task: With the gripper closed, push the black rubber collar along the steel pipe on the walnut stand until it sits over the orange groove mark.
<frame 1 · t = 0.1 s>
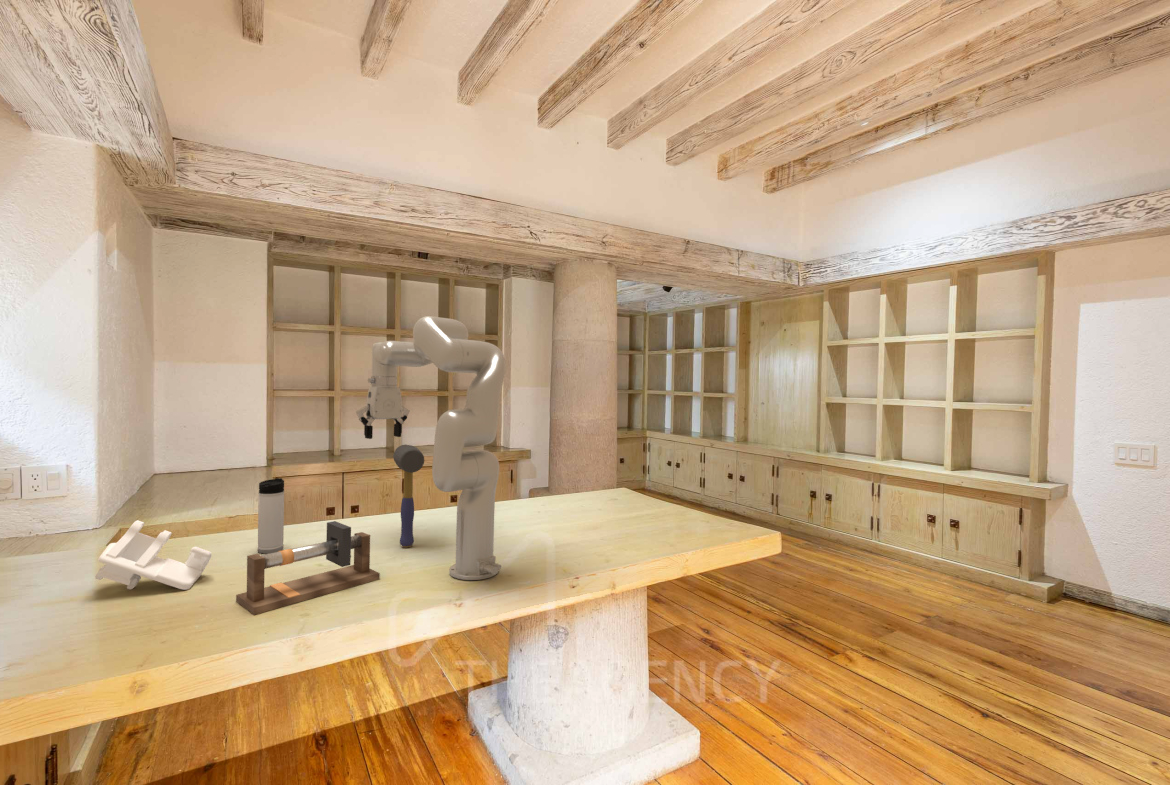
hand: (383, 437, 167), 31 cm above the table, tool pointing down, fingers open, 9 cm apart
rubber mallet: (406, 547, 159), on the table
white angular bracket piece: (156, 586, 125), on the table
travel mug: (270, 551, 152), on the table
collar: (338, 543, 130), point 9 cm above the table, slide at -6.0 cm
pipe stand: (312, 589, 125), on the table
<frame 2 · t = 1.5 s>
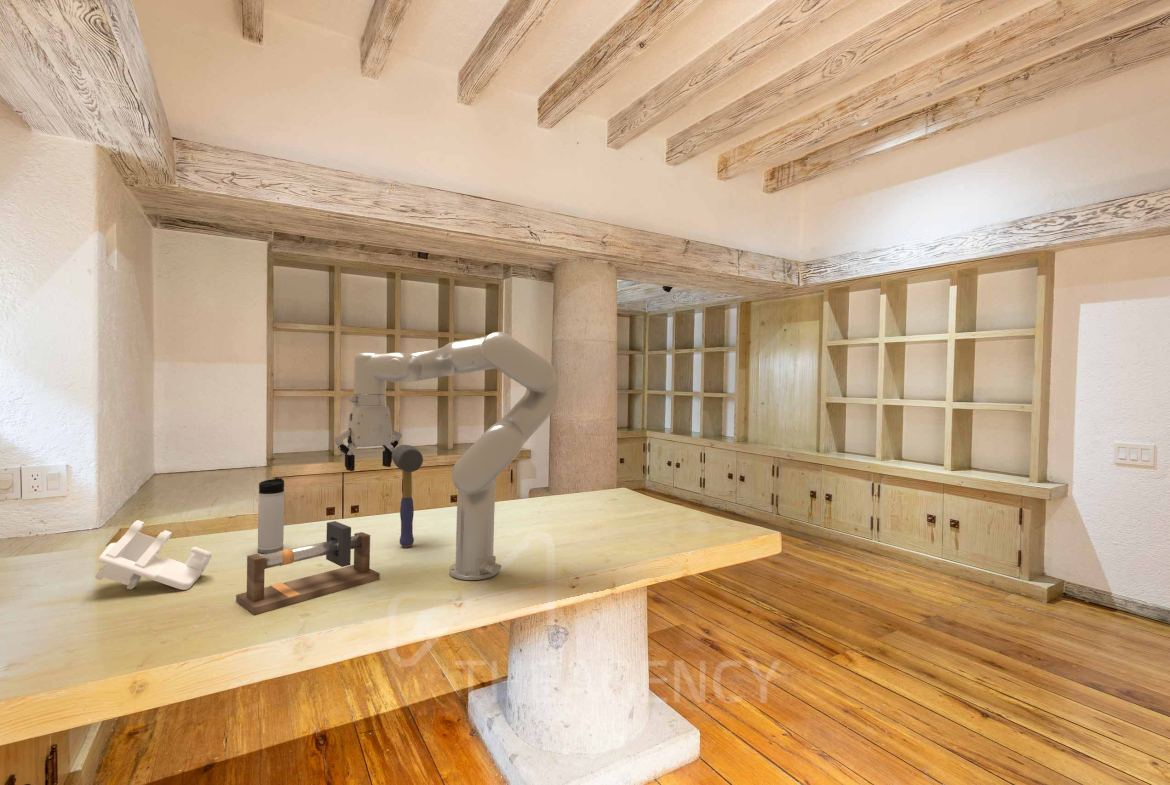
hand: (368, 468, 137), 27 cm above the table, tool pointing down, fingers open, 9 cm apart
nothing on the table moved.
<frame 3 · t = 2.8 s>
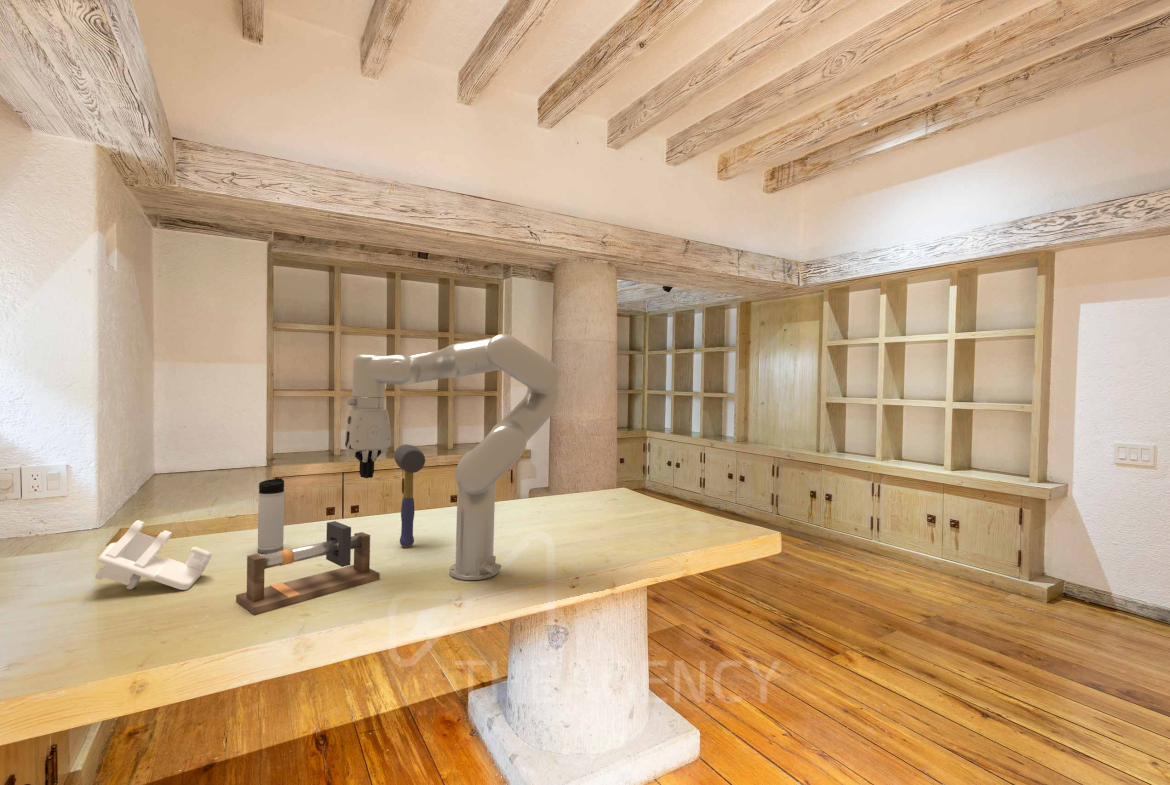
hand: (366, 477, 135), 25 cm above the table, tool pointing down, fingers closed
nothing on the table moved.
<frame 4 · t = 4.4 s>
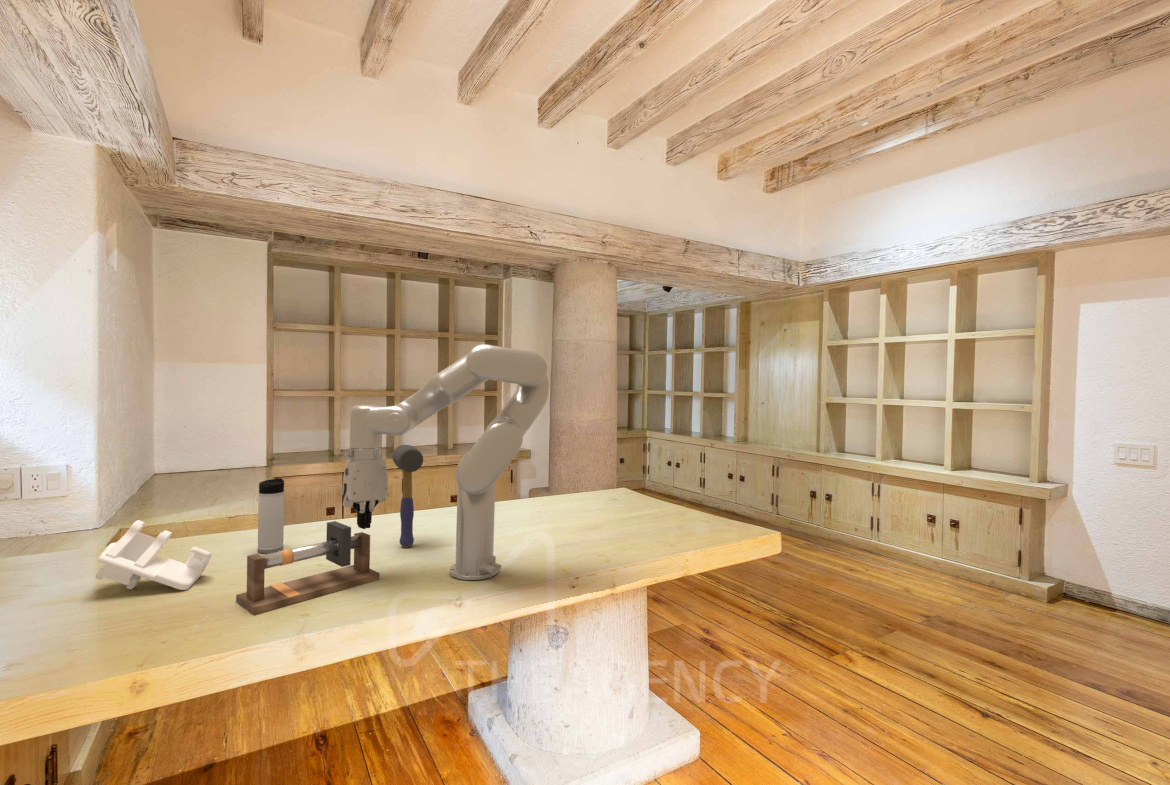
hand: (364, 527, 135), 12 cm above the table, tool pointing down, fingers closed
nothing on the table moved.
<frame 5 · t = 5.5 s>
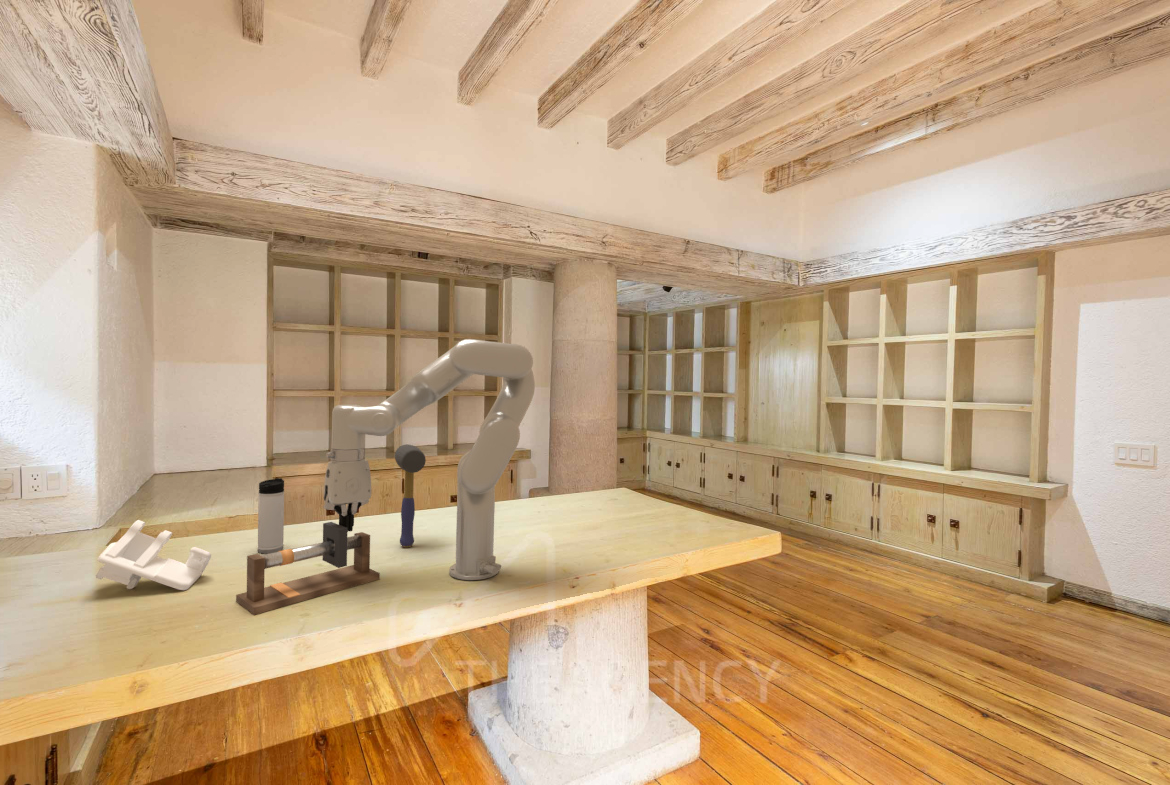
hand: (346, 530, 131), 12 cm above the table, tool pointing down, fingers closed
collar: (334, 544, 129), point 9 cm above the table, slide at -5.1 cm, touching gripper
everything else where it was.
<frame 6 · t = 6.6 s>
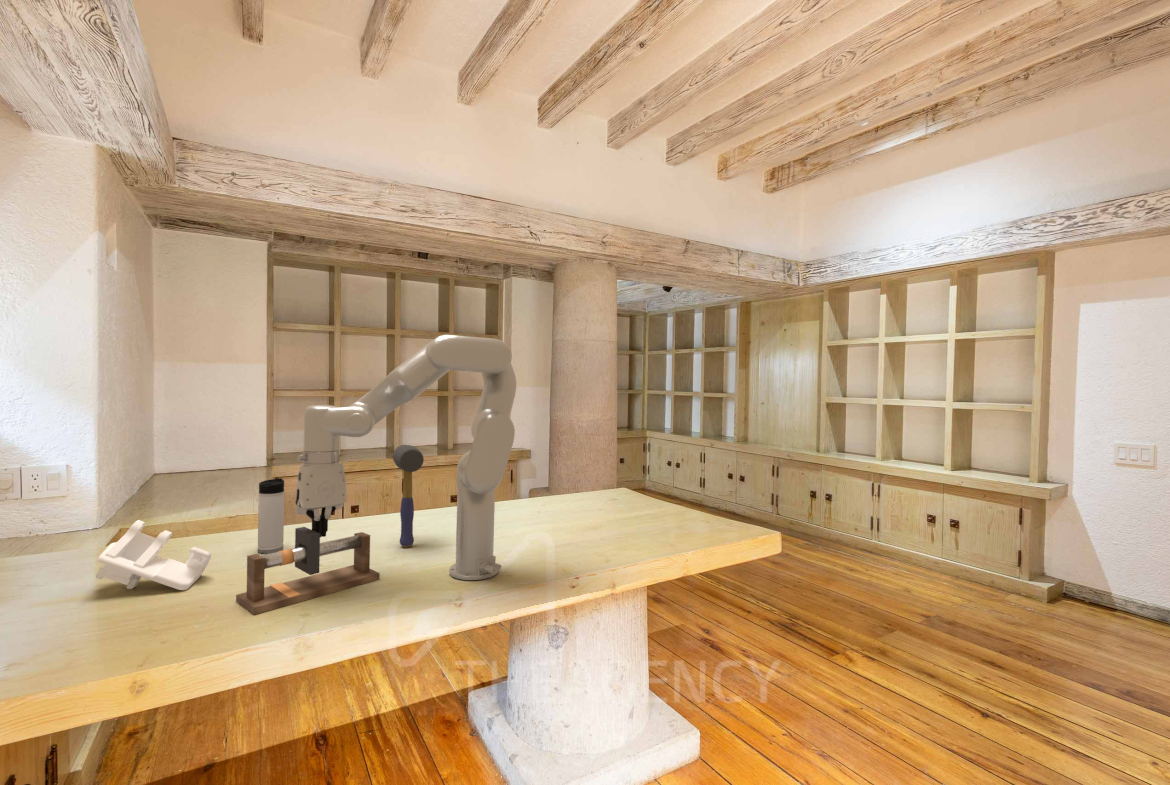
hand: (319, 535, 126), 12 cm above the table, tool pointing down, fingers closed
collar: (307, 550, 124), point 9 cm above the table, slide at 1.3 cm, touching gripper
everything else where it was.
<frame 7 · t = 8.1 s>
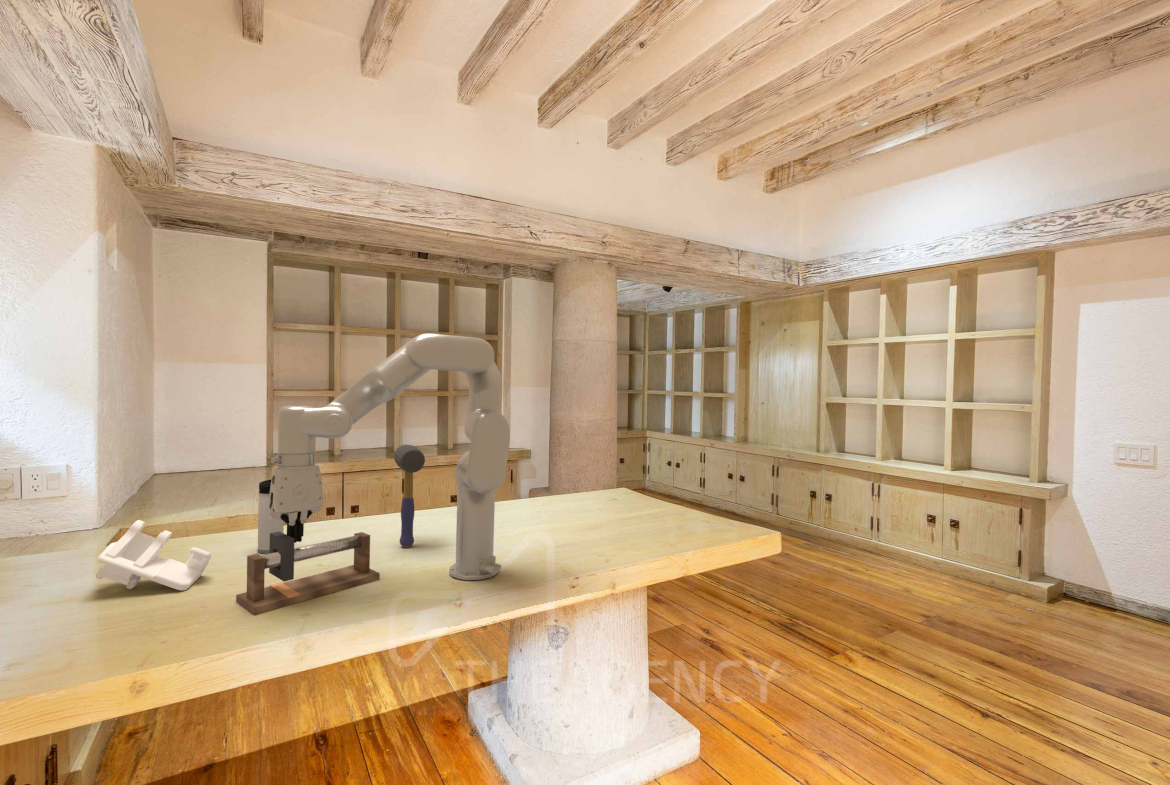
hand: (294, 540, 122), 12 cm above the table, tool pointing down, fingers closed
collar: (281, 555, 120), point 10 cm above the table, slide at 6.8 cm, touching gripper
everything else where it was.
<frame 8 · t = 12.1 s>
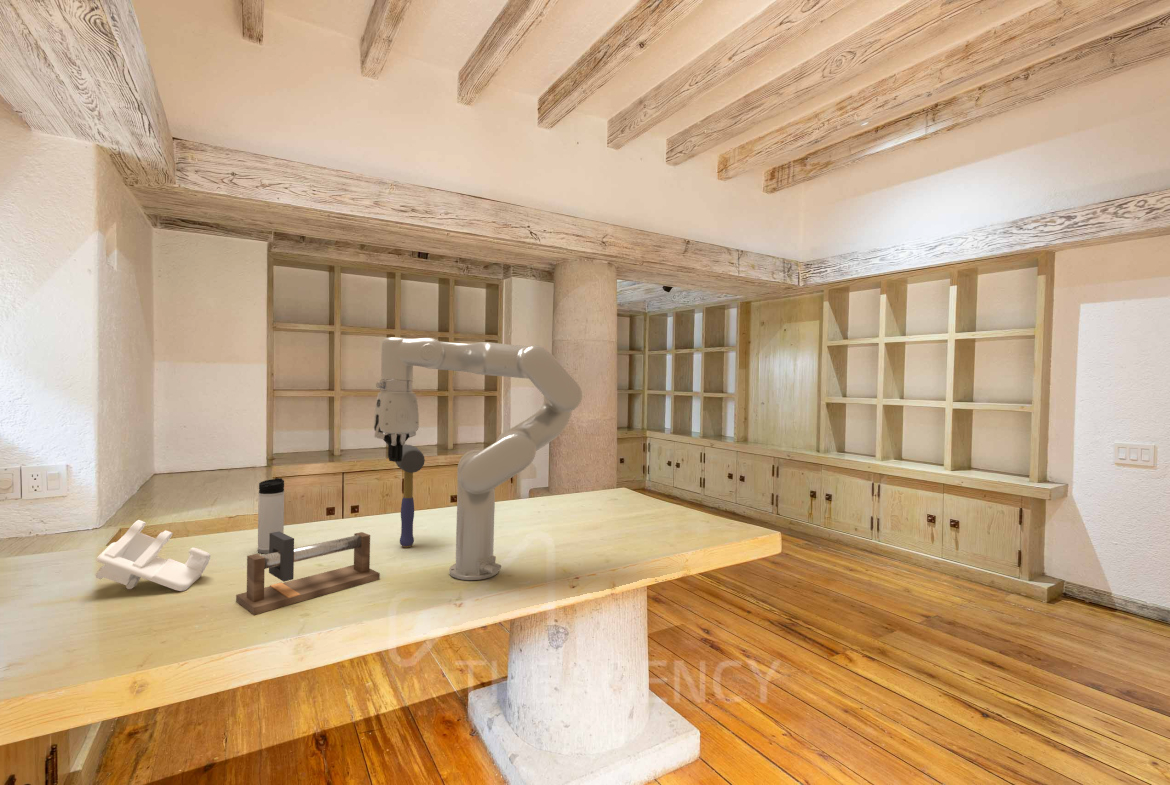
hand: (395, 460, 134), 29 cm above the table, tool pointing down, fingers closed
collar: (281, 555, 120), point 10 cm above the table, slide at 6.9 cm
everything else where it was.
at the end: collar slide at 6.9 cm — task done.
